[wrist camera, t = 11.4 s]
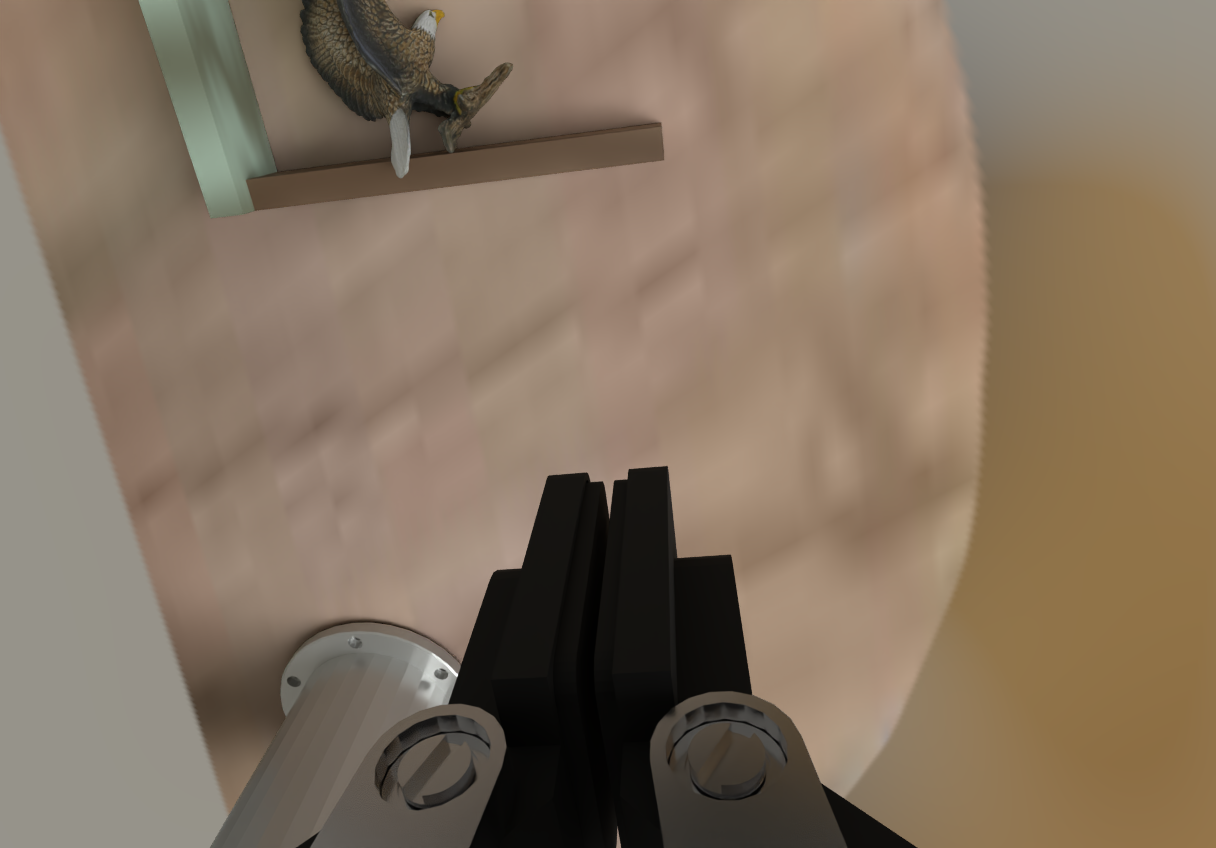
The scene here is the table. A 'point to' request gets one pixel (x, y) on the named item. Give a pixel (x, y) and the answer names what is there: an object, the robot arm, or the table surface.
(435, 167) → the walnut guide
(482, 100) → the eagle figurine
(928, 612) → the table surface
